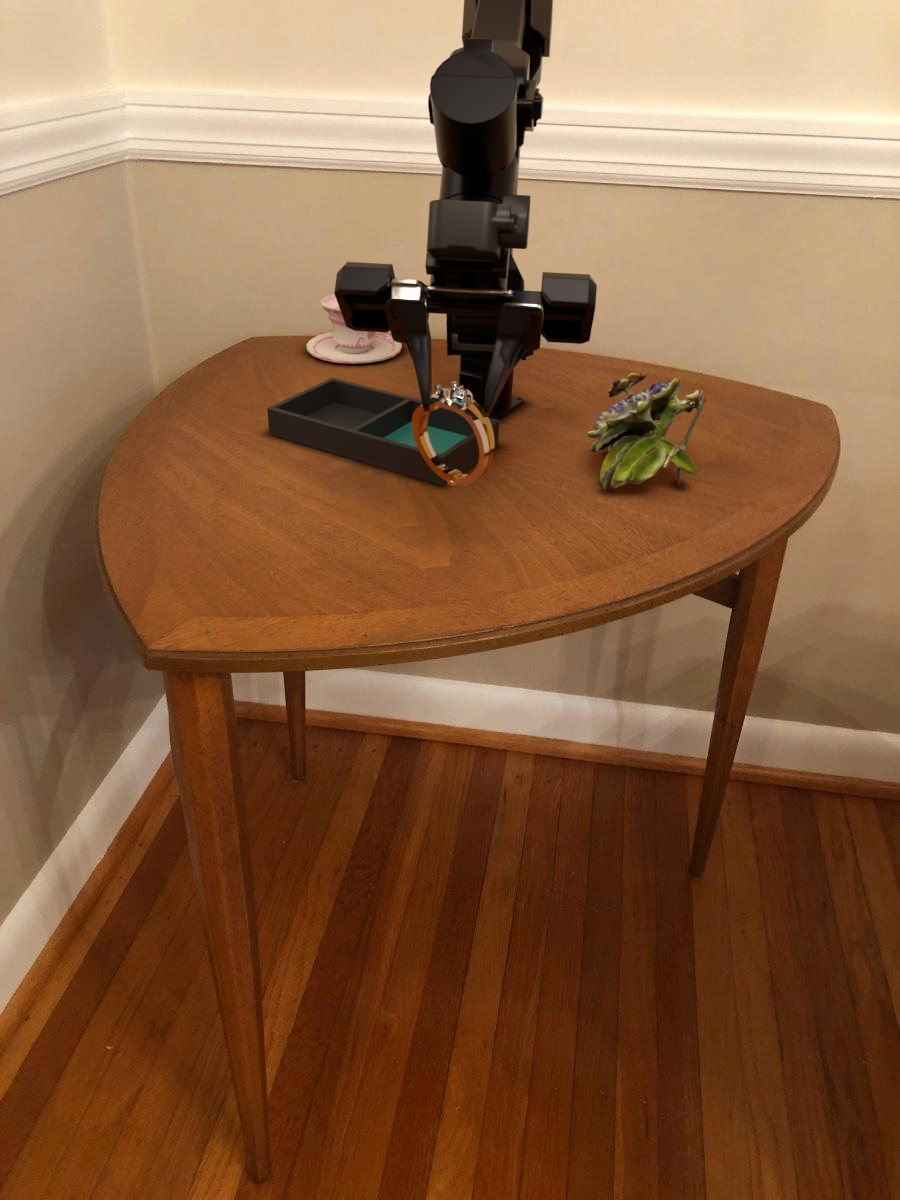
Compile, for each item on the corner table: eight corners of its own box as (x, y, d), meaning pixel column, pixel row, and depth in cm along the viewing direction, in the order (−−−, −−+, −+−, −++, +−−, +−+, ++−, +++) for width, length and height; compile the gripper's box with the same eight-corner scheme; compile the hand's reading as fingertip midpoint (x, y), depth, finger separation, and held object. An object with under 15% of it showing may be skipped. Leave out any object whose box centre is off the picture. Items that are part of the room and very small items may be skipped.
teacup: (363, 372, 112) (361, 320, 108) (286, 352, 117) (282, 302, 114) (420, 346, 120) (421, 297, 117) (346, 328, 125) (344, 281, 122)
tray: (333, 402, 104) (332, 377, 102) (498, 446, 95) (499, 419, 93) (269, 434, 96) (266, 408, 94) (442, 486, 87) (442, 457, 86)
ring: (502, 489, 72) (501, 390, 67) (474, 505, 70) (470, 405, 65) (436, 463, 76) (431, 368, 71) (408, 478, 74) (400, 381, 69)
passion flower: (610, 506, 96) (642, 394, 96) (707, 523, 89) (743, 402, 89) (552, 475, 87) (588, 351, 88) (656, 491, 81) (695, 357, 81)
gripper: (333, 139, 64) (305, 353, 61) (610, 151, 62) (595, 371, 59) (359, 234, 75) (336, 419, 72) (595, 246, 73) (582, 435, 70)
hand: (455, 411), depth 68 cm, fingers closed on ring, 4 cm apart
